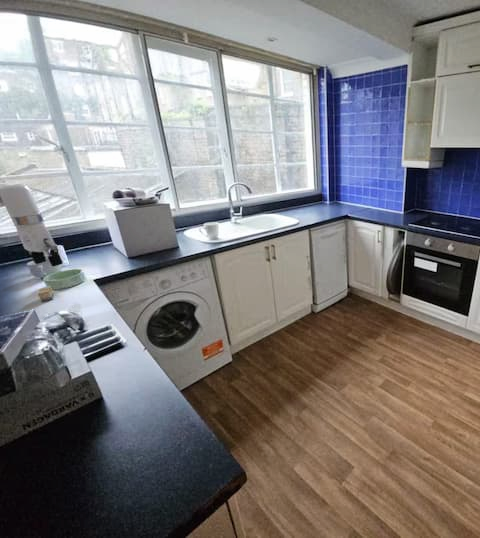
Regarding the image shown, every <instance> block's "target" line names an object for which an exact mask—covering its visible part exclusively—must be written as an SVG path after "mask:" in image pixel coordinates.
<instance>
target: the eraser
mask: <svg viewBox="0 0 480 538" xmlns="http://www.w3.org/2000/svg"><path fill="white" fill-rule="evenodd" d="M37 295H38V298H39V299H40V301H41V303H45V302H49V301H53V300H54V298H55V292H54V290H52V288H51V286H49V287H46V286H45V287H41V288H39V290H38V292H37Z"/></svg>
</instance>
